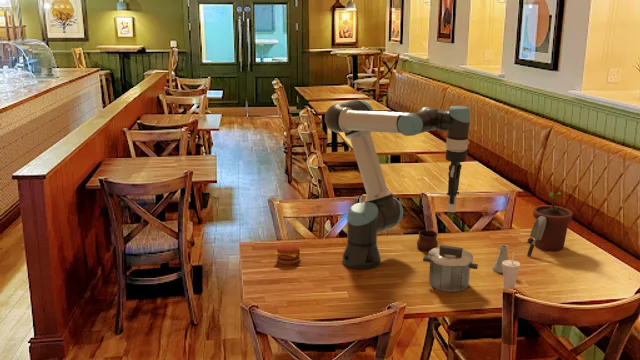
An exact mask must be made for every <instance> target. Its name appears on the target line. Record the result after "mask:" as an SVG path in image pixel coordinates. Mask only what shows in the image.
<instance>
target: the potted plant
mask: <svg viewBox="0 0 640 360" xmlns="http://www.w3.org/2000/svg"><path fill="white" fill-rule="evenodd" d="M561 195H562V193H561V192H559V191H558V192H557V194H555V195H554V192H549V194H548V197H549V198H553V205H551V204H550V205H548V204H547V205H546V204H544V205H536V206H535V207H533V208H532V210H533V211H532V216H533V218H534V219H535V222H534V223H533V225H532V228H531V231H530V234H529V238H528V239H527V242H526V243H528V244H530V245H529V247H528V251H527V253H526V256H528V257H531V256H532V253H533V251H534V247H535V248H537V249H538V250H541V251H544V252H550V253H557V252H558V253H559V252H561V251H563V250H564V248H565V242H566V239H567V237H566V236H567V232H568V227H569V223H571V222H572V220H573V215H574V211H572V210H570V209H568V208H566V207H563V206H557V205H555V201H556V198H557V197H559V196H561Z"/></svg>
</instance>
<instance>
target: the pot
mask: <svg viewBox="0 0 640 360" xmlns="http://www.w3.org/2000/svg"><path fill="white" fill-rule="evenodd" d="M422 262H426V263H429V276H428V281H429V285H430V286H431V288H433V289H435V290H437V291H440V292H444V293H461V292H463V291H466V290H467V289H468V288H469V283H470V273H471V269H473V270H478V268H479V264H478V263H473V262H472V263H471V264H470V265H467V266H464V267H446V266H441V265H438V264H435V263H433V262H432V261H430V260H429V258H428V256H426V255H425V256H423V258H422Z"/></svg>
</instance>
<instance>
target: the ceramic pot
mask: <svg viewBox="0 0 640 360" xmlns="http://www.w3.org/2000/svg"><path fill="white" fill-rule="evenodd" d="M437 238H438V233H437V232H436V231H434V230H430V229H429V230H428V229H427V230H419V231H418V239H417V241H416V246H417V249H418V250H421V251H424V252H429V251H430V250H432V249H434V248H437V247H439V246H438V245H439V243H440V244H441V245H444V243H442V242H440V241H438V240H437Z"/></svg>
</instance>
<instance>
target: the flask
mask: <svg viewBox="0 0 640 360" xmlns="http://www.w3.org/2000/svg"><path fill="white" fill-rule="evenodd" d="M508 248H509V246H508V245H507V244H500V245H499V252H498V256H497V257H496V260H495V263H494V264H493V266H492V270H493V271H494V273H500V274H503V266H502V262H503V261H504V260H509V257H508Z"/></svg>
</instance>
